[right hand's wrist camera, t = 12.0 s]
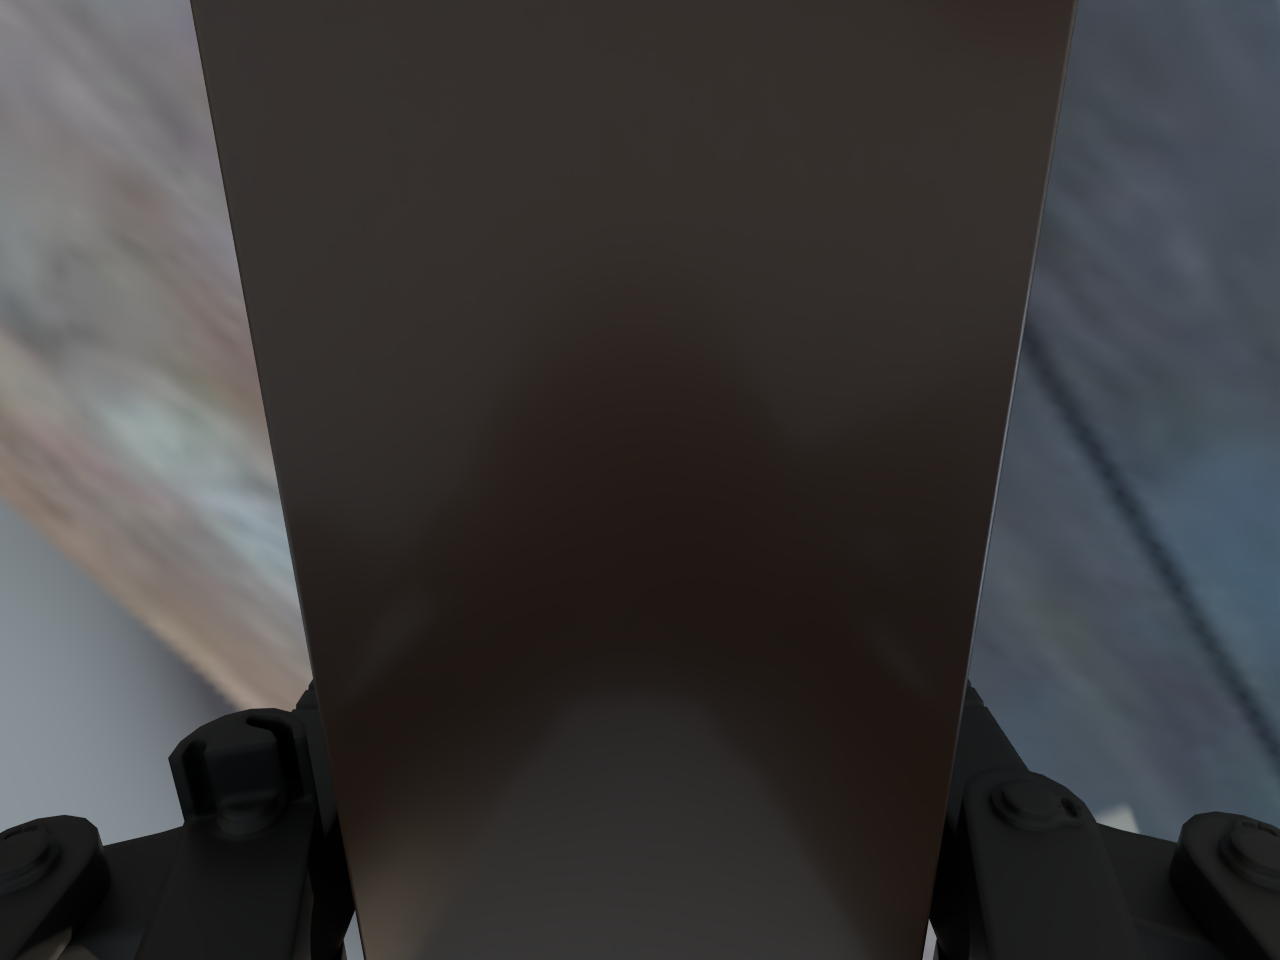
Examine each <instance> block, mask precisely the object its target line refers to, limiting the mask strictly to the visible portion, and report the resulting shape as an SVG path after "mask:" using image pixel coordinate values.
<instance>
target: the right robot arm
mask: <svg viewBox="0 0 1280 960" xmlns="http://www.w3.org/2000/svg"><path fill="white" fill-rule="evenodd" d="M168 759H169V763H170V767H171V771H172V775H173V779H174V782H175V786H176V790H177V794H178V798H179V802H180V806H181V809H182V813H183V817H184V821H185V822H184V824H183V826H181V827H178V828H175V829H171V830H168V831H165V832H161V833H157V834H153V835H149V836H144V837H140V838H136V839H132V840H127V841H123V842H119V843H114V844H110V845H106V846H103V845H102V842H101V839H100V835H99V832H98V829H97V828H96V827H95V826H94V825H93V824H92V823H91V822H89V821H88V820H87V819H86V818H81V817H75V816H69V815H60V816H53V817H46V818H39V819H35V820H32V821H30V822H27V823H24V824H21V825H18V826H15V827H12V828H9V829H7V830H5V831H3V832H1V833H0V960H347V957H346V951H345V945H344V940H343V939H344V937H345V934H346V932H347V929H348V927H349V924H350V921H351V919H352V916H353V914H354V911H355V906H354V900H353V895H352V889H351V884H350V878H349V873H348V867H347V862H346V856H345V851H344V845H343V840H342V834H341V829H340V823H339V818H338V812H337V807H336V801H335V796H334V790H333V785H332V779H331V774H330V768H329V763H328V757H327V752H326V746H325V741H324V735H323V730H322V724H321V719H320V713H319V708H318V702H317V697H316V691H315V686H314V680H312V681H311V683H310V684H309V689H308V690H306V691H305V692H304V694H303V695H302V697H301V698H300V700H299V701H298V703H297V704H296V709H293V710H292V712H288V711H284V710H280V709H276V708H262V709H248V710H244V711H240V712H236V713H232V714H229V715H225V716H222V717H220V718H218V719H216V720H214V721H211V722H209V723H207V724H205V725H203V726H201V727H199V728H198V729H196V730H195V731H194V732H192V733H191V734H190V735H188V736H187V737H186V738H184V739H183V740H182V741H180V743H179V744H178V745H177V747H176V748H175V750H174V751H173V752H172V754H171V755H170V756H169V758H168ZM929 919H930V922H931V924H932V927H933V930H934V932H935V935H936V937H937V940H936V945H935V951H934V956H933V960H1280V829H1278V828H1276V827H1274V826H1272V825H1269V824H1266V823H1263V822H1261V821H1258V820H1255V819H1252V818H1249V817H1246V816H1243V815H1237V814H1230V813H1223V812H1209V813H1203V814H1196V815H1194V816H1193V817H1192V818H1190V819H1189V820H1188V821H1187V822H1186V823H1184V824H1183V826H1182V829H1181V833H1180V836H1179V839H1178V842H1177V843H1175V842H1171V841H1167V840H1162V839H1158V838H1154V837H1149V836H1145V835H1141V834H1136V833H1132V832H1128V831H1123V830H1119V829H1116V828H1112V827H1109V826H1106V825H1103V824H1099V823H1096V820H1095V819H1094V817H1093V816H1092V814H1091V812H1090V811H1089V809H1088V808H1087V806H1086V805H1085V803H1084V802H1083V801H1082V800H1080V799H1079V798H1078V797H1077V796H1076V795H1075V794H1073V793H1072V792H1071V791H1070V790H1069V789H1067V788H1066V787H1065V786H1063V785H1061V784H1059V783H1057V782H1055V781H1053V780H1051V779H1049V778H1047V777H1045V776H1044V775H1041V774H1038V773H1034V772H1031V771H1029V770H1028V769H1027V767H1026V765H1025V764H1024V762H1023V761H1022V759H1021V758H1020V756H1019V755H1018V753H1017V752H1016V750H1015V749H1014V747H1013V746H1012V744H1011V743H1010V741H1009V740H1008V738H1007V737H1006V735H1005V734H1004V732H1003V731H1002V729H1001V728H1000V726H999V725H998V723H997V722H996V720H995V719H994V717H993V716H992V714H991V713H990V711H989V710H988V708H987V707H984V705H983V701H982V699H981V698H980V696H979V695H978V693H977V692H976V690H975V689H974V688H971V683H970V681H969V679H968V681H967V687H966V693H965V699H964V706H963V712H962V718H961V724H960V730H959V736H958V743H957V749H956V755H955V761H954V767H953V773H952V780H951V786H950V792H949V798H948V804H947V810H946V817H945V823H944V829H943V835H942V841H941V847H940V853H939V860H938V866H937V872H936V878H935V884H934V890H933V897H932V903H931V909H930V915H929Z"/></svg>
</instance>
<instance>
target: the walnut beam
mask: <svg viewBox="0 0 1280 960" xmlns="http://www.w3.org/2000/svg"><path fill="white" fill-rule="evenodd" d="M190 3H191V8H192V14H193V19H194V25H195V30H196V36H197V41H198V47H199V52H200V58H201V63H202V69H203V74H204V80H205V85H206V91H207V96H208V102H209V107H210V113H211V118H212V124H213V129H214V135H215V140H216V146H217V151H218V157H219V162H220V168H221V173H222V179H223V184H224V190H225V195H226V201H227V206H228V212H229V218H230V223H231V229H232V234H233V240H234V245H235V251H236V256H237V262H238V267H239V273H240V278H241V284H242V289H243V295H244V300H245V306H246V311H247V317H248V322H249V328H250V333H251V339H252V344H253V350H254V355H255V361H256V366H257V372H258V377H259V383H260V388H261V394H262V399H263V405H264V410H265V416H266V421H267V427H268V432H269V438H270V443H271V449H272V454H273V460H274V465H275V471H276V476H277V482H278V487H279V493H280V498H281V504H282V509H283V515H284V520H285V526H286V531H287V537H288V542H289V548H290V553H291V559H292V564H293V570H294V575H295V581H296V586H297V592H298V597H299V603H300V608H301V614H302V620H303V625H304V631H305V636H306V642H307V647H308V653H309V658H310V664H311V669H312V675H313V680H314V686H315V691H316V697H317V702H318V708H319V713H320V719H321V724H322V730H323V735H324V741H325V746H326V752H327V757H328V763H329V768H330V774H331V779H332V785H333V790H334V796H335V801H336V807H337V812H338V818H339V823H340V829H341V834H342V840H343V845H344V851H345V856H346V862H347V867H348V873H349V878H350V884H351V889H352V895H353V900H354V906H355V911H356V917H357V922H358V928H359V933H360V939H361V944H362V950H363V955H364V960H922V958H923V952H924V946H925V940H926V934H927V927H928V921H929V915H930V909H931V903H932V897H933V890H934V884H935V878H936V872H937V866H938V860H939V853H940V847H941V841H942V835H943V829H944V823H945V817H946V810H947V804H948V798H949V792H950V786H951V780H952V773H953V767H954V761H955V755H956V749H957V743H958V736H959V730H960V724H961V718H962V712H963V706H964V699H965V693H966V687H967V681H968V675H969V669H970V662H971V656H972V650H973V644H974V638H975V632H976V626H977V619H978V613H979V607H980V601H981V595H982V589H983V582H984V576H985V570H986V564H987V558H988V552H989V545H990V539H991V533H992V527H993V521H994V515H995V508H996V502H997V496H998V490H999V484H1000V478H1001V471H1002V465H1003V459H1004V453H1005V447H1006V441H1007V435H1008V428H1009V422H1010V416H1011V410H1012V404H1013V398H1014V391H1015V385H1016V379H1017V373H1018V367H1019V361H1020V354H1021V348H1022V342H1023V336H1024V330H1025V324H1026V317H1027V311H1028V305H1029V299H1030V293H1031V287H1032V280H1033V274H1034V268H1035V262H1036V256H1037V250H1038V244H1039V237H1040V231H1041V225H1042V219H1043V213H1044V207H1045V200H1046V194H1047V188H1048V182H1049V176H1050V170H1051V163H1052V157H1053V151H1054V145H1055V139H1056V133H1057V126H1058V120H1059V114H1060V108H1061V102H1062V96H1063V89H1064V83H1065V77H1066V71H1067V65H1068V59H1069V53H1070V46H1071V40H1072V34H1073V28H1074V22H1075V16H1076V9H1077V3H1078V0H190Z"/></svg>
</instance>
